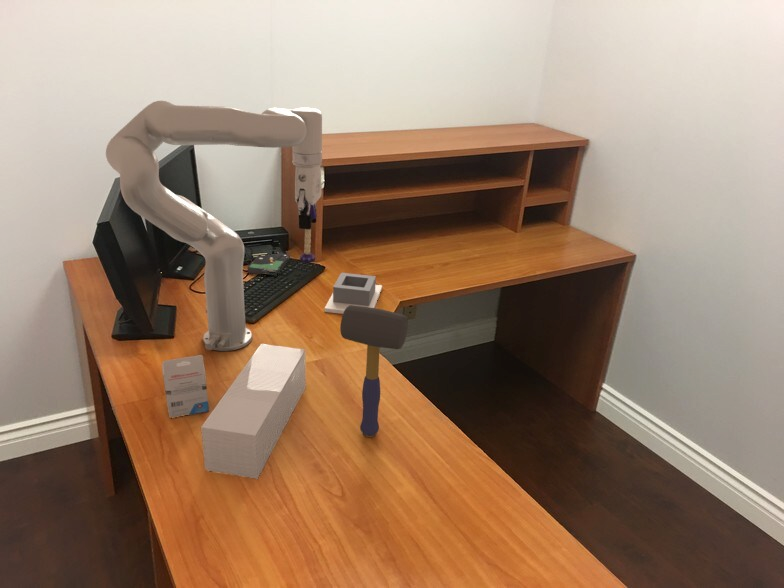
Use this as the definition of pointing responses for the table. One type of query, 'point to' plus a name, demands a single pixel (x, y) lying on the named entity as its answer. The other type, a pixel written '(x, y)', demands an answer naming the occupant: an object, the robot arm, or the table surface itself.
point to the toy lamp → (308, 239)
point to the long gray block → (254, 411)
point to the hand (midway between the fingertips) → (307, 224)
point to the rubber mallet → (373, 351)
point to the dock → (353, 292)
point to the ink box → (185, 386)
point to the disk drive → (268, 263)
